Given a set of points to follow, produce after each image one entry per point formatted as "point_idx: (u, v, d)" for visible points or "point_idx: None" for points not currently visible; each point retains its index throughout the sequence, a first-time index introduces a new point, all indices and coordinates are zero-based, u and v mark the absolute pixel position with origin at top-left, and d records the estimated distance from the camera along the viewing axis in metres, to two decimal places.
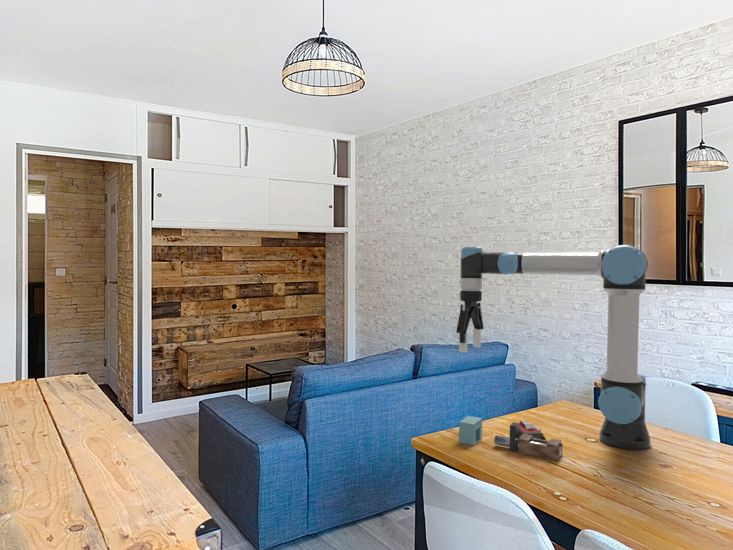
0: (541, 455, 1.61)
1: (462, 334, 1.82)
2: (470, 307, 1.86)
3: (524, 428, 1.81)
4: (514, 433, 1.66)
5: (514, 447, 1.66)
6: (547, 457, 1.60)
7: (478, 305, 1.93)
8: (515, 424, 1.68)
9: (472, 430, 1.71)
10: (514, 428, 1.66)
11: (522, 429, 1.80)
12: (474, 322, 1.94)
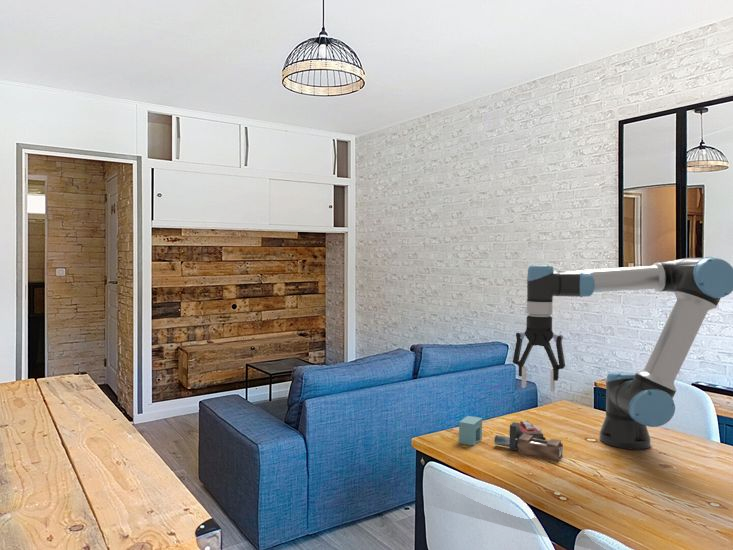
0: (541, 455, 1.61)
1: None
2: (528, 334, 1.64)
3: (524, 428, 1.81)
4: (514, 433, 1.66)
5: (514, 447, 1.66)
6: (547, 457, 1.60)
7: (557, 338, 1.60)
8: (515, 424, 1.68)
9: (472, 430, 1.71)
10: (514, 428, 1.66)
11: (522, 429, 1.80)
12: None
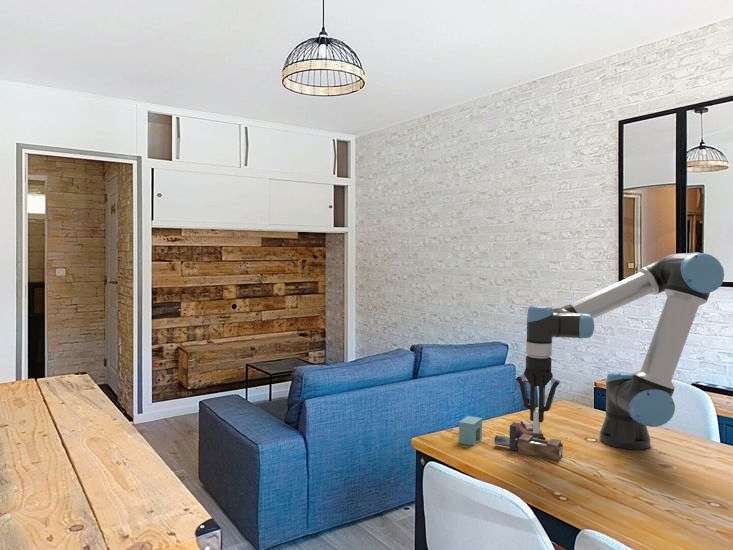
0: (541, 455, 1.61)
1: None
2: (527, 374, 1.64)
3: (524, 428, 1.81)
4: (514, 433, 1.66)
5: (514, 447, 1.66)
6: (547, 457, 1.60)
7: (554, 382, 1.60)
8: (515, 424, 1.68)
9: (472, 430, 1.71)
10: (514, 428, 1.66)
11: (522, 429, 1.80)
12: None
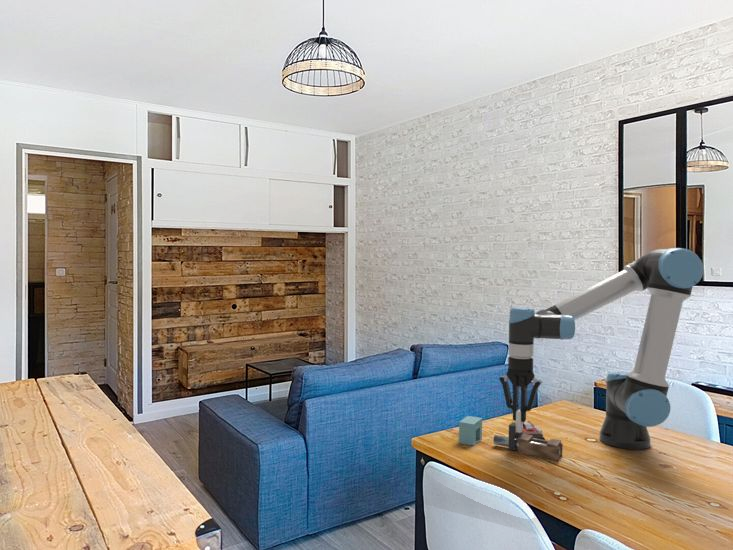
0: (541, 455, 1.61)
1: None
2: (509, 374, 1.67)
3: (524, 428, 1.80)
4: (513, 433, 1.66)
5: (513, 447, 1.66)
6: (547, 457, 1.60)
7: (535, 383, 1.63)
8: (514, 424, 1.68)
9: (472, 430, 1.71)
10: (513, 428, 1.66)
11: None
12: None
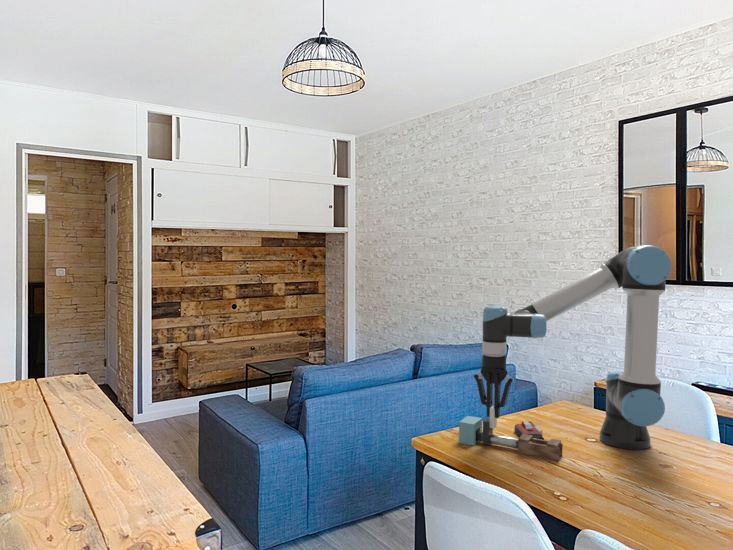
0: (541, 455, 1.61)
1: None
2: (483, 372, 1.72)
3: (524, 428, 1.80)
4: (487, 428, 1.70)
5: (487, 442, 1.70)
6: (547, 457, 1.60)
7: (508, 380, 1.68)
8: (488, 419, 1.72)
9: (472, 430, 1.71)
10: (487, 423, 1.70)
11: (522, 429, 1.80)
12: None
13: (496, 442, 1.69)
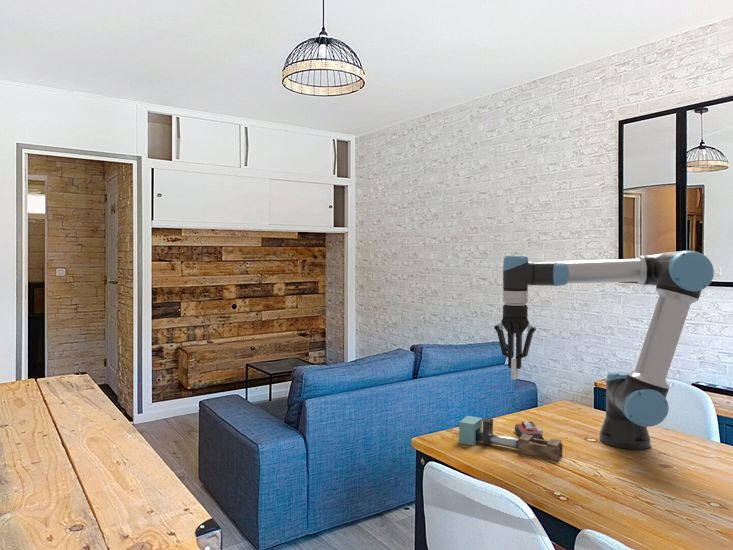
0: (541, 455, 1.61)
1: None
2: (504, 322, 1.68)
3: (524, 428, 1.80)
4: (487, 428, 1.70)
5: (487, 442, 1.70)
6: (547, 457, 1.60)
7: (530, 329, 1.64)
8: (488, 419, 1.72)
9: (472, 430, 1.71)
10: (487, 423, 1.70)
11: (522, 429, 1.80)
12: None
13: (496, 442, 1.69)
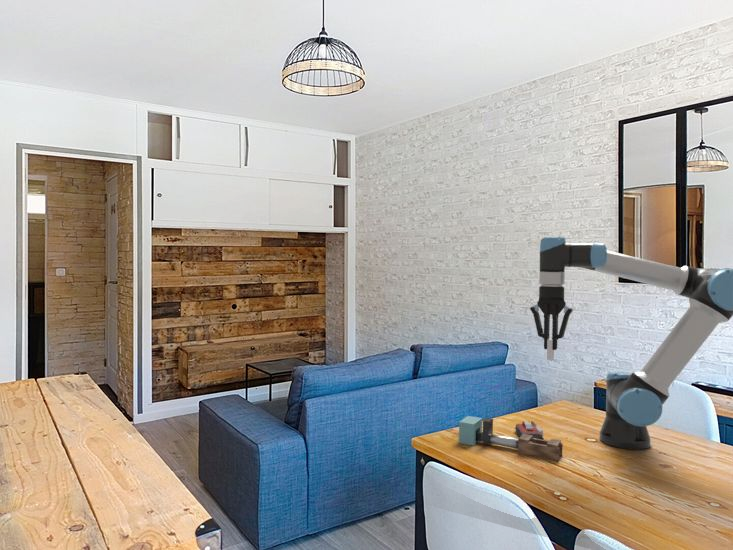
0: (541, 455, 1.61)
1: None
2: (540, 304, 1.69)
3: (524, 428, 1.80)
4: (487, 428, 1.70)
5: (487, 442, 1.70)
6: (547, 457, 1.60)
7: (567, 310, 1.65)
8: (488, 419, 1.72)
9: (472, 430, 1.71)
10: (487, 423, 1.70)
11: (522, 429, 1.80)
12: None
13: (496, 442, 1.69)
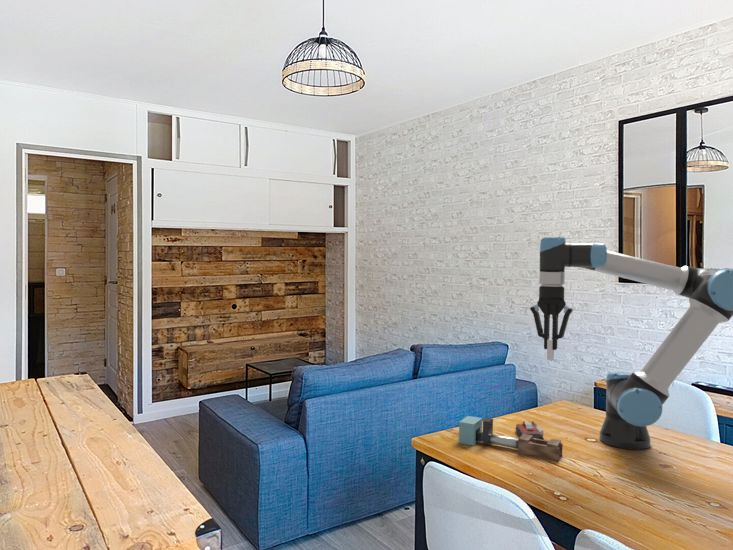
0: (541, 455, 1.61)
1: None
2: (540, 304, 1.69)
3: (524, 428, 1.80)
4: (487, 428, 1.70)
5: (487, 442, 1.70)
6: (547, 457, 1.60)
7: (567, 310, 1.65)
8: (488, 419, 1.72)
9: (472, 430, 1.71)
10: (487, 423, 1.70)
11: (522, 429, 1.80)
12: None
13: (496, 442, 1.69)
